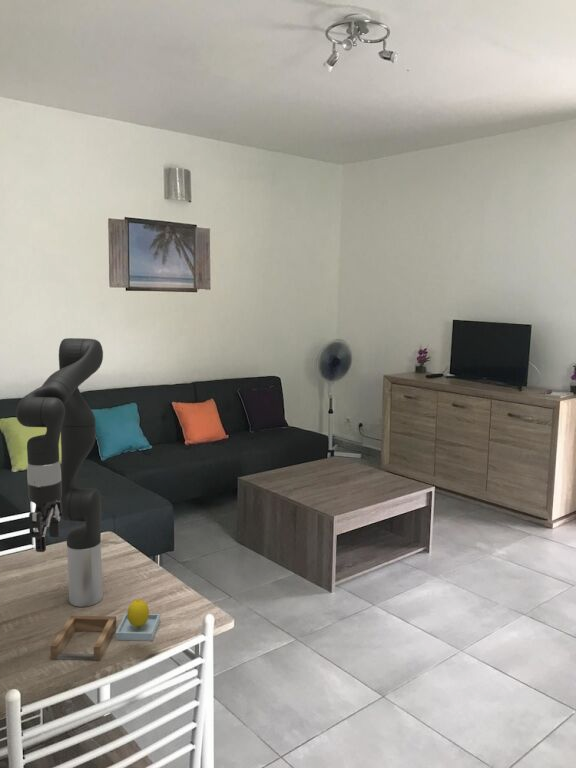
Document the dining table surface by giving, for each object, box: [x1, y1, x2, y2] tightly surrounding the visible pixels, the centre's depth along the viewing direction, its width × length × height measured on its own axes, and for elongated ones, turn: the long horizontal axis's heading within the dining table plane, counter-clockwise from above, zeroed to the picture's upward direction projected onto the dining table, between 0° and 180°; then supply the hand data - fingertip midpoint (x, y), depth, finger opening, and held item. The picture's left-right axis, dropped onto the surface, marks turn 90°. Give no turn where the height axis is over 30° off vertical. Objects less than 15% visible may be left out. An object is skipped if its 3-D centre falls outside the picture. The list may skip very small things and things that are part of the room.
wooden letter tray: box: [50, 615, 117, 661], centre depth 160 cm, size 14×12×4 cm
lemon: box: [127, 598, 150, 628], centre depth 166 cm, size 6×6×8 cm
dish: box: [115, 612, 161, 642], centre depth 167 cm, size 9×9×2 cm
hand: (47, 543), depth 153 cm, fingers open, 8 cm apart
